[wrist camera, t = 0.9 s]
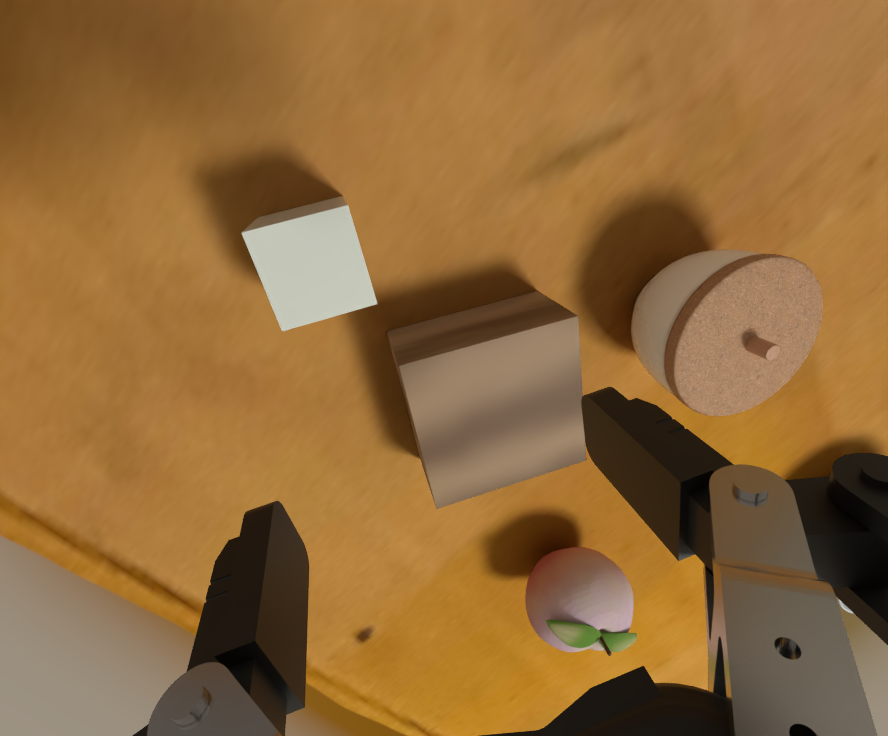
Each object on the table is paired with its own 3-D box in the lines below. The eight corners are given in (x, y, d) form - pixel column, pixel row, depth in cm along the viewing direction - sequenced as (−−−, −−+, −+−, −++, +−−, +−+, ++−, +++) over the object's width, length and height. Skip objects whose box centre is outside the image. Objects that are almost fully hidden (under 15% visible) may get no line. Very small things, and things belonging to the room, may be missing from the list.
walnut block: (385, 330, 31) (398, 366, 26) (536, 289, 32) (578, 316, 27) (419, 457, 36) (436, 508, 31) (548, 417, 37) (586, 460, 32)
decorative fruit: (610, 521, 44) (682, 613, 35) (578, 584, 47) (638, 683, 38) (525, 516, 41) (580, 615, 32) (497, 583, 44) (540, 690, 35)
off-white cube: (257, 217, 26) (241, 232, 21) (342, 195, 27) (347, 205, 21) (289, 299, 28) (282, 331, 23) (367, 277, 29) (377, 304, 24)
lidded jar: (613, 389, 37) (696, 455, 29) (595, 266, 32) (689, 304, 24) (728, 341, 38) (841, 392, 30) (727, 214, 33) (863, 233, 25)
